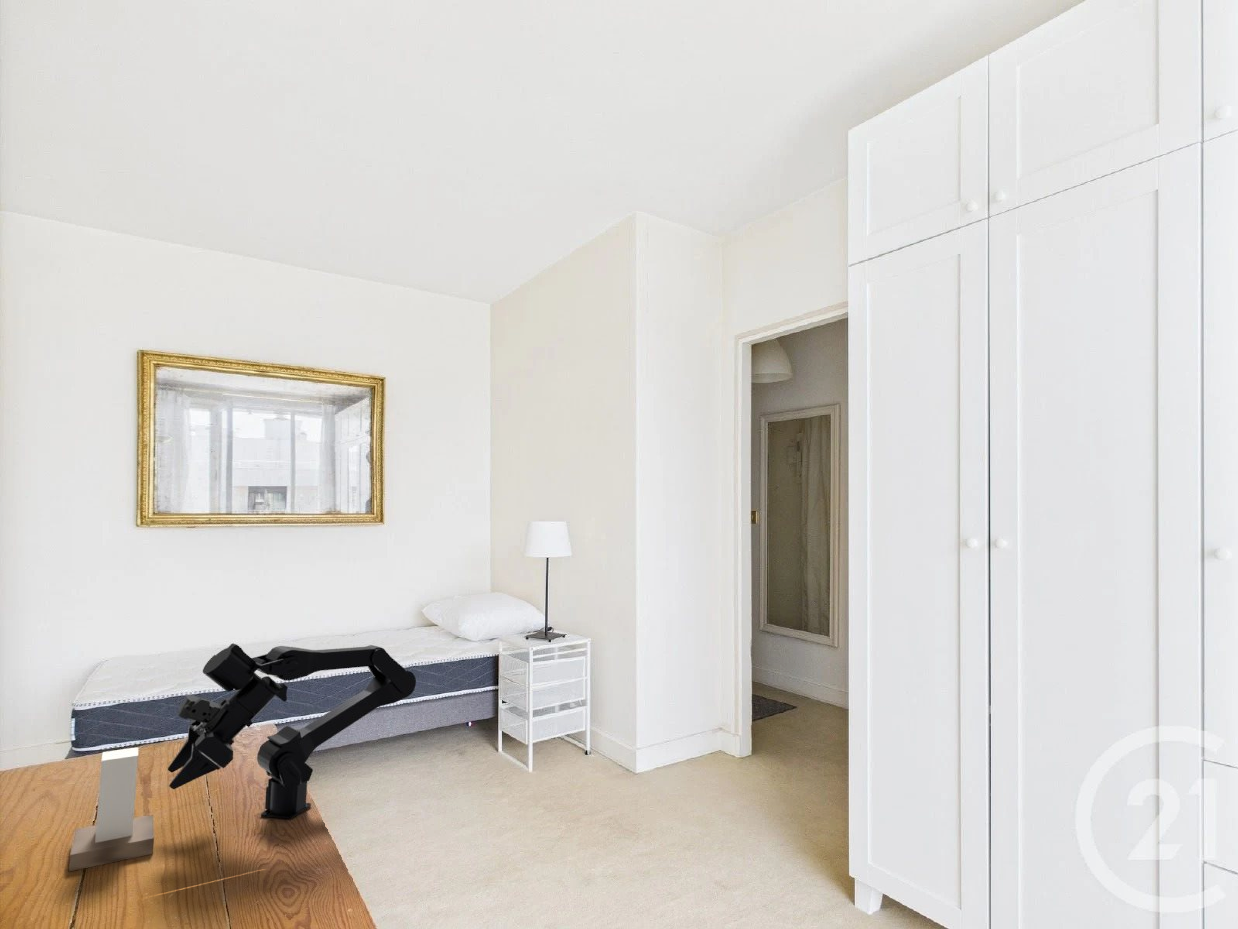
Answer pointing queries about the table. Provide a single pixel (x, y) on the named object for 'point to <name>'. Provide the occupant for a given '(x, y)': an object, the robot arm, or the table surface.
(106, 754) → the cream block
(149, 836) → the walnut plinth
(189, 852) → the table surface
